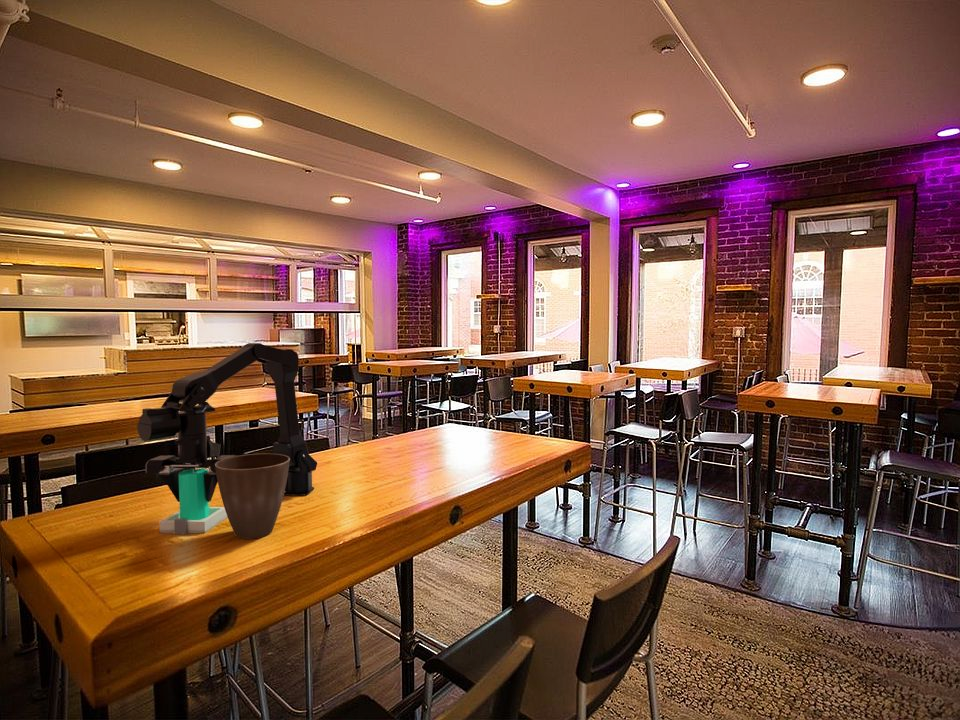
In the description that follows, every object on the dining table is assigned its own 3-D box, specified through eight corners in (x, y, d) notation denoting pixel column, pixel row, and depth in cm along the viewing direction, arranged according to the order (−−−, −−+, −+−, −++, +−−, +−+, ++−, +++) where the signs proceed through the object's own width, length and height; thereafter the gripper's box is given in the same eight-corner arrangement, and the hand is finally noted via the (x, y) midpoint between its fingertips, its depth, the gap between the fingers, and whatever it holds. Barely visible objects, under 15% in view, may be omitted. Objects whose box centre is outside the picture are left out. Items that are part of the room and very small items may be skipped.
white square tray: (227, 517, 125) (227, 504, 125) (203, 534, 115) (202, 519, 114) (185, 517, 126) (185, 504, 125) (157, 534, 115) (156, 519, 115)
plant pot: (269, 516, 126) (268, 450, 125) (304, 531, 116) (303, 459, 116) (204, 535, 114) (202, 461, 114) (237, 552, 105) (235, 473, 104)
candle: (204, 520, 118) (203, 467, 118) (175, 522, 117) (173, 468, 116) (213, 511, 124) (211, 460, 123) (185, 513, 123) (183, 462, 122)
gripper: (249, 427, 127) (251, 490, 128) (172, 427, 128) (174, 491, 128) (226, 435, 116) (228, 505, 117) (142, 436, 117) (145, 505, 117)
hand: (194, 501), depth 120 cm, fingers closed on candle, 6 cm apart
